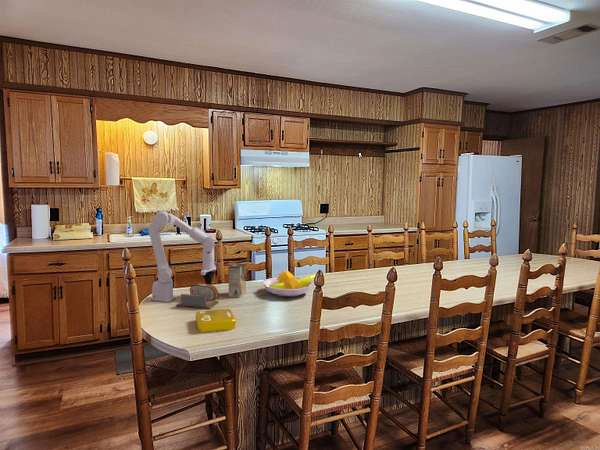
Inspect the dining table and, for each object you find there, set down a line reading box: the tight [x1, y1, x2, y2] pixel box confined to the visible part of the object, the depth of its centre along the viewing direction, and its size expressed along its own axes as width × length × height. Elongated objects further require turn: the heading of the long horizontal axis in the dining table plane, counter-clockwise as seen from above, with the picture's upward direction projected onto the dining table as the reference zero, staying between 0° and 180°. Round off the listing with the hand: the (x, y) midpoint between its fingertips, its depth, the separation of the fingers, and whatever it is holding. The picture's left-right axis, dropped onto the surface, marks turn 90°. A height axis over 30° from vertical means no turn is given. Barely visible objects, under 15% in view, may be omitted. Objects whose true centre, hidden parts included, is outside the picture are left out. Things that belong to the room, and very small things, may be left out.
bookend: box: [180, 293, 206, 310], centre depth 187 cm, size 12×1×6 cm, turn 80°
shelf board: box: [175, 300, 219, 311], centre depth 191 cm, size 17×10×1 cm, turn 80°
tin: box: [189, 282, 219, 301], centre depth 198 cm, size 15×3×8 cm, turn 71°
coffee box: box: [228, 262, 247, 299], centre depth 208 cm, size 9×6×16 cm
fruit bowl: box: [262, 270, 317, 297], centre depth 213 cm, size 28×27×11 cm
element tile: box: [195, 308, 236, 333], centre depth 166 cm, size 15×15×5 cm
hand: (208, 285), depth 203 cm, fingers closed
